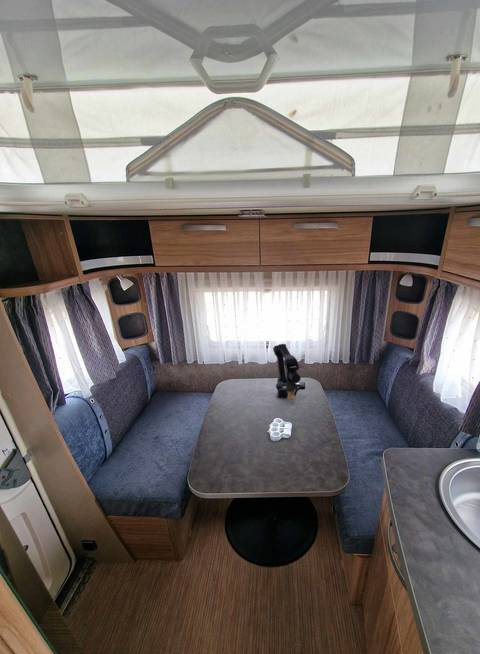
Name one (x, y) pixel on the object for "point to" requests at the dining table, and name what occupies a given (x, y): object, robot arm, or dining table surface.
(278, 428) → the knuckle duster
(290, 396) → the spice jar
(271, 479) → the dining table surface
